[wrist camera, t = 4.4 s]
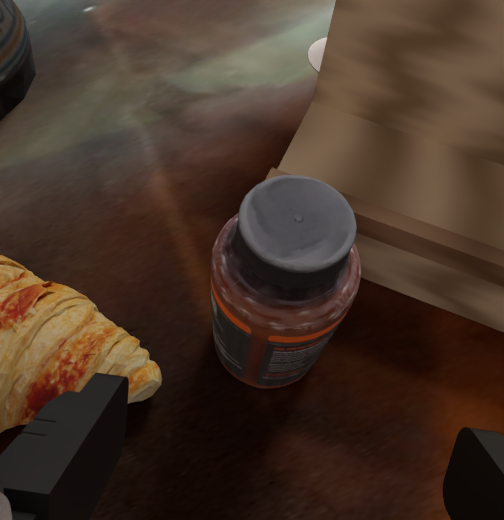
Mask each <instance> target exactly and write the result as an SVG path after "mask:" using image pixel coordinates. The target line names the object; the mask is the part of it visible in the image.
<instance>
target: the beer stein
mask: <svg viewBox="0 0 504 520" xmlns="http://www.w3.org/2000/svg"><path fill="white" fill-rule="evenodd" d="M35 74H36V73H35V67H34V61H33V55H32V50H31V44H30V38H29V32H28V27H27V24H26V21H25V19H24V17H23V15H22V13H21V11H20V10H19V8H18V7H17V6H16V4H15V3H14V1H13V0H0V120H1V119H2V118H3V117H4V116H5V115H6V114H8V113H9V112H10V111H11V110H12V109H13V108H14V107H15V106H16V105H18V104H19V103H20V102H21V101H22V100H23V99H24V97H25V95H26V93H27V91H28V89H29V87H30V85H31V83H32V81H33V79H34V76H35Z"/></svg>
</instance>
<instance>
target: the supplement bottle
mask: <svg viewBox="0 0 504 520" xmlns="http://www.w3.org/2000/svg"><path fill="white" fill-rule="evenodd" d="M356 230H357V226H356V220H355V216H354V213H353V210H352V209H351V207H350V205H349V203H348V202H347V200H346V199H345V198H344V197H343V196H342V194H340V193H339V192H338V191H337V190H335V189H334V188H333V187H331V186H330V185H328V184H326V183H324V182H322V181H320V180H317V179H314V178H312V177H307V176H302V175H280V176H277V177H273V178H270V179H268V180H265V181H263V182H262V183H260V184H257V185H256V186H255V187H254V188H253V189H252V190H251V191H249V193H248V194H247V195H246V196H245V198H244V200H243V201H242V203H241V206H240V209H239V213H238V214H236V215H235V216H234V217H233V218H232V219H230V220H229V221H228V222H227V223H226V225H225V226H224V227H223V229H222V230H221V232H220V233H219V235H218V237H217V239H216V241H215V244H214V246H213V250H212V255H211V265H210V271H211V275H210V276H211V280H210V285H211V304H212V326H213V340H214V345H215V349H216V352H217V355H218V357H219V359H220V361H221V363H222V364H223V365H224V367H225V368H226V369H227V371H228V372H229V373H231V374H232V375H233V376H234V377H236V378H237V379H238V380H240V381H242V382H244V383H246V384H248V385H251V386H254V387H258V388H264V389H273V388H279V387H284V386H287V385H289V384H291V383H293V382H295V381H297V380H299V379H300V378H301V377H303V376H304V375H305V374H306V373H307V372H308V371H309V370H310V369H311V367H312V366H313V365H314V363H315V362H316V360H317V359H318V357H319V356H320V354H321V353H322V351H323V349H324V348H325V346H326V345H327V343H328V342H329V340H330V339H331V337H332V335H333V334H334V332H335V331H336V329H337V328H338V326H339V325H340V323H341V322H342V320H343V319H344V317H345V315H346V313H347V311H348V310H349V308H350V307H351V305H352V303H353V301H354V299H355V297H356V294H357V292H358V288H359V284H360V279H361V264H360V258H359V254H358V251H357V248H356V245H355V243H354V241H355V237H356Z"/></svg>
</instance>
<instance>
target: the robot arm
mask: <svg viewBox="0 0 504 520" xmlns="http://www.w3.org/2000/svg"><path fill="white" fill-rule="evenodd" d="M128 391H129V380H128V377H124V376H117V375H110V374H103V373H95V374H94V375H93V376H92V377H91V378H90V380H89V381H88V382H87V383H86V385H85V386H84V387H83V388H82V390H81V391H80V392H74V391H66V392H65V393H63V394H61V395H59V396H58V397H56V398H54V399H52V400H51V401H49V402H47V403H46V405H45V406H44V407H43V408H42V409H41V410H40V411H39V412H38V414H37V415H36V416H35V417H34V419H33V421H30V423H29V424H28V425H27V426H26V427H25V428H24V429H23V430H22V433H21V435H18V436H17V437H16V438H15V439H14V440H13V442H12V443H11V444H10V445H9V446H8V447H7V448H6V449H5V451H4V452H3V453H2V454H1V455H0V520H89V519H90V517H91V515H92V513H93V511H94V509H95V507H96V505H97V503H98V501H99V499H100V497H101V495H102V493H103V491H104V489H105V487H106V485H107V482H108V480H109V478H110V476H111V474H112V472H113V470H114V468H115V466H116V464H117V462H118V460H119V457H120V455H121V451H122V448H123V444H124V439H125V433H126V419H127V405H128ZM443 498H444V503H445V507H446V510H447V512H448V514H449V516H450V518H451V520H504V436H503V435H502V434H500V433H498V432H494V431H487V430H481V429H474V428H467V427H465V428H462V429H461V430H460V432H459V433H458V436H457V439H456V442H455V445H454V449H453V452H452V455H451V458H450V462H449V465H448V468H447V471H446V475H445V478H444V482H443Z"/></svg>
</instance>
